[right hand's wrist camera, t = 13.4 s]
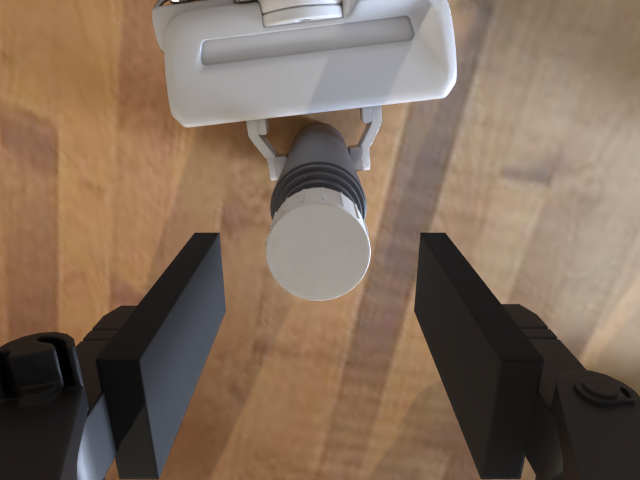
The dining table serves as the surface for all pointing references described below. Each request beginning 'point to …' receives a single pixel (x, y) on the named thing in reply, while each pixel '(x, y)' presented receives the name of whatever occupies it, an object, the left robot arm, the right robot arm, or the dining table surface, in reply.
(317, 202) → the cap
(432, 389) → the dining table surface
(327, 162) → the bottle
